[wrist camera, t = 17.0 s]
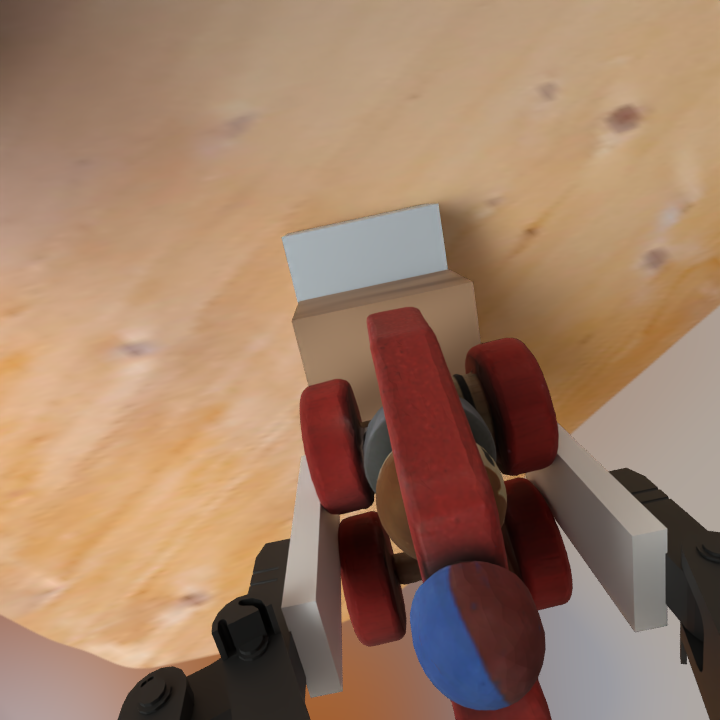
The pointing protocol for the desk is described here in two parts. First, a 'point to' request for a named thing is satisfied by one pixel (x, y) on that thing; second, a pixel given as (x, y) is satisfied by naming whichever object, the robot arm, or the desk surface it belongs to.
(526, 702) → the toy fire truck
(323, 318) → the walnut block
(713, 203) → the desk surface
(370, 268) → the plinth
